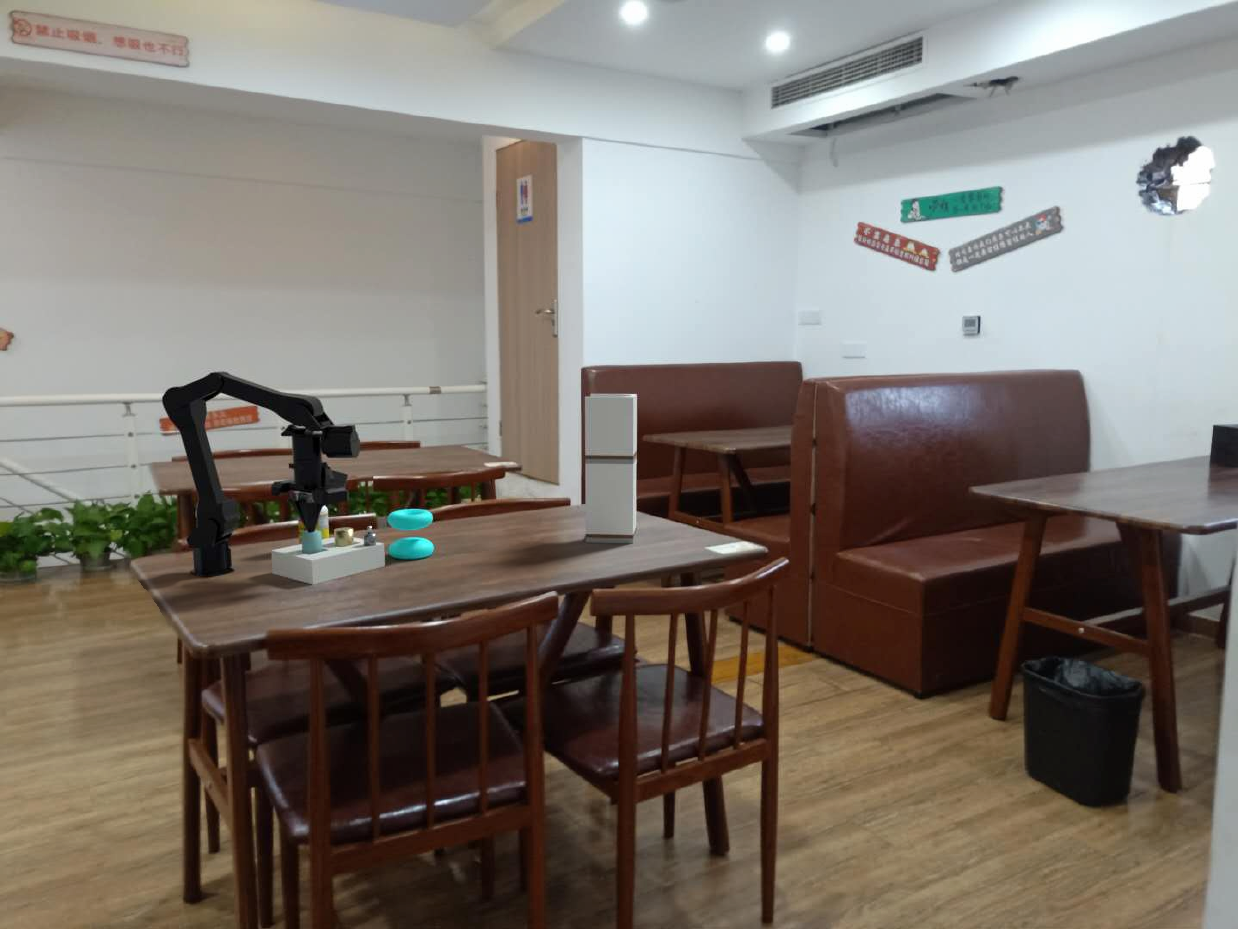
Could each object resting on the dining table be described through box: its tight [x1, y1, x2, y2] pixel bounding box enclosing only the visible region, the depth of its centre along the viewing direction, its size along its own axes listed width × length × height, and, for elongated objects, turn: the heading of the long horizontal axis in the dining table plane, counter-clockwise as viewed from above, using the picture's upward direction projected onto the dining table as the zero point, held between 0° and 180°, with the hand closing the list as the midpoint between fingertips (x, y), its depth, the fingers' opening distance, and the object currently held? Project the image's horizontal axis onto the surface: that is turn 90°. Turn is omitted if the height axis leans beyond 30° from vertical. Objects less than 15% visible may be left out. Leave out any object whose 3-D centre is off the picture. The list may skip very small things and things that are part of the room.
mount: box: [271, 536, 386, 586], centre depth 193 cm, size 18×14×5 cm
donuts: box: [387, 508, 435, 560], centre depth 206 cm, size 10×10×10 cm
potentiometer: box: [363, 525, 377, 546], centre depth 194 cm, size 3×3×4 cm
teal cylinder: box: [301, 530, 322, 555], centre depth 190 cm, size 4×4×7 cm
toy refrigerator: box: [584, 393, 638, 544], centre depth 221 cm, size 11×11×35 cm
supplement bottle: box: [297, 505, 330, 545], centre depth 210 cm, size 7×7×13 cm
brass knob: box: [333, 526, 355, 547], centre depth 196 cm, size 4×4×7 cm
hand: (311, 532), depth 189 cm, fingers closed, pressing on teal cylinder
